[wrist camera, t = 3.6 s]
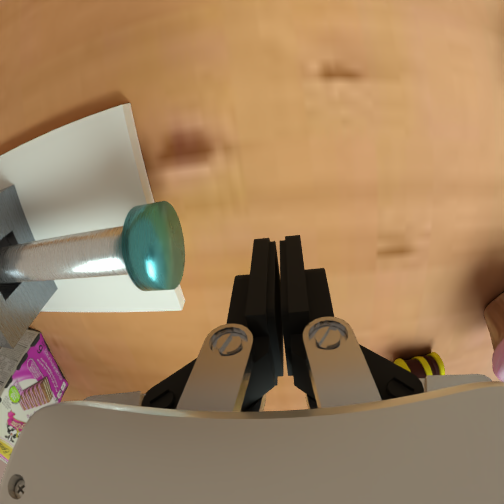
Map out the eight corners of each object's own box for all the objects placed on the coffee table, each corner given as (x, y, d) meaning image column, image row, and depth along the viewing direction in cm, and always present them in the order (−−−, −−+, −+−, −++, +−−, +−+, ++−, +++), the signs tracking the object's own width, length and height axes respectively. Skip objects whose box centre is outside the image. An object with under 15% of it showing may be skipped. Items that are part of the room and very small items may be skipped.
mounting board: (130, 102, 17) (122, 104, 16) (185, 300, 25) (181, 310, 24) (-51, 186, 21) (-58, 191, 20) (1, 303, 29) (-4, 309, 28)
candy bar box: (71, 384, 36) (30, 477, 22) (45, 375, 36) (3, 462, 22) (42, 330, 30) (-21, 437, 16) (15, 322, 30) (-46, 418, 16)
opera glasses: (405, 391, 33) (420, 421, 28) (369, 402, 32) (383, 435, 28) (433, 339, 28) (456, 373, 23) (393, 350, 27) (414, 388, 23)
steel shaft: (171, 188, 17) (140, 225, 13) (190, 259, 20) (169, 308, 16) (-29, 235, 20) (-59, 262, 16) (-9, 277, 23) (-36, 306, 19)
